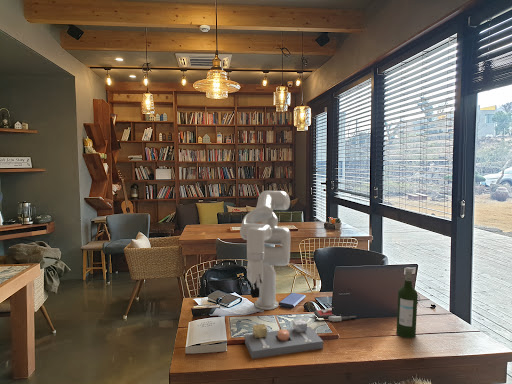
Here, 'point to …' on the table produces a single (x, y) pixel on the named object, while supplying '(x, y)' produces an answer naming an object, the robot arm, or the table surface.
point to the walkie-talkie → (330, 315)
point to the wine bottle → (407, 308)
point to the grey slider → (299, 325)
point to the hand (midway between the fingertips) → (255, 296)
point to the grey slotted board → (282, 343)
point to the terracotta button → (283, 335)
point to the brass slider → (259, 331)
